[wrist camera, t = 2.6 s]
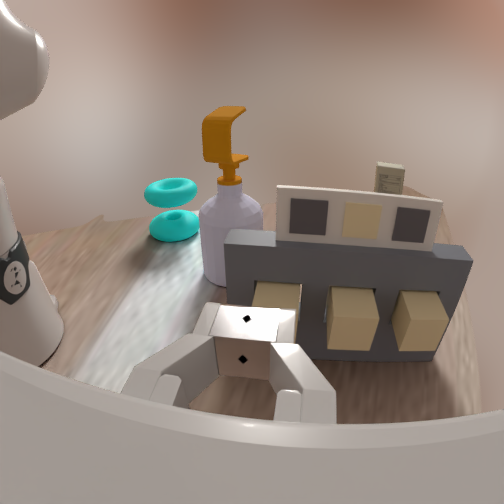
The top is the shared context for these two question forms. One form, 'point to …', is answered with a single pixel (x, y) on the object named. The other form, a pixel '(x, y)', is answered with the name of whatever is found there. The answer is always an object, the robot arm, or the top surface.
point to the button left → (277, 296)
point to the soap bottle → (224, 194)
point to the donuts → (174, 221)
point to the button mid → (351, 318)
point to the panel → (348, 261)
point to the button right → (418, 320)
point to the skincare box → (389, 178)
